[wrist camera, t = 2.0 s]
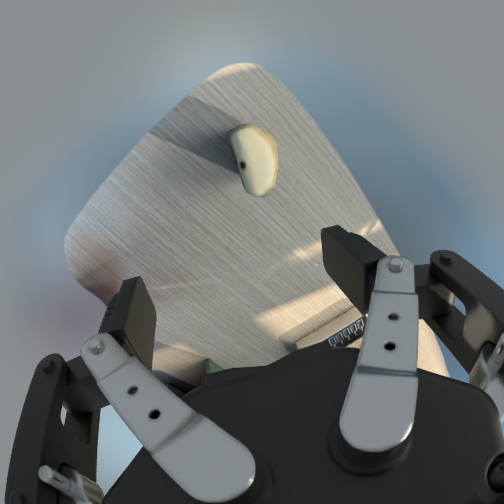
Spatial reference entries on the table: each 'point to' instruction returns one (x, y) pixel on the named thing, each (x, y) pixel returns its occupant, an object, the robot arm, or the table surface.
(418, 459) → the robot arm
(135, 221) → the table surface
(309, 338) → the multiport hub
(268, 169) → the beige rounded block
